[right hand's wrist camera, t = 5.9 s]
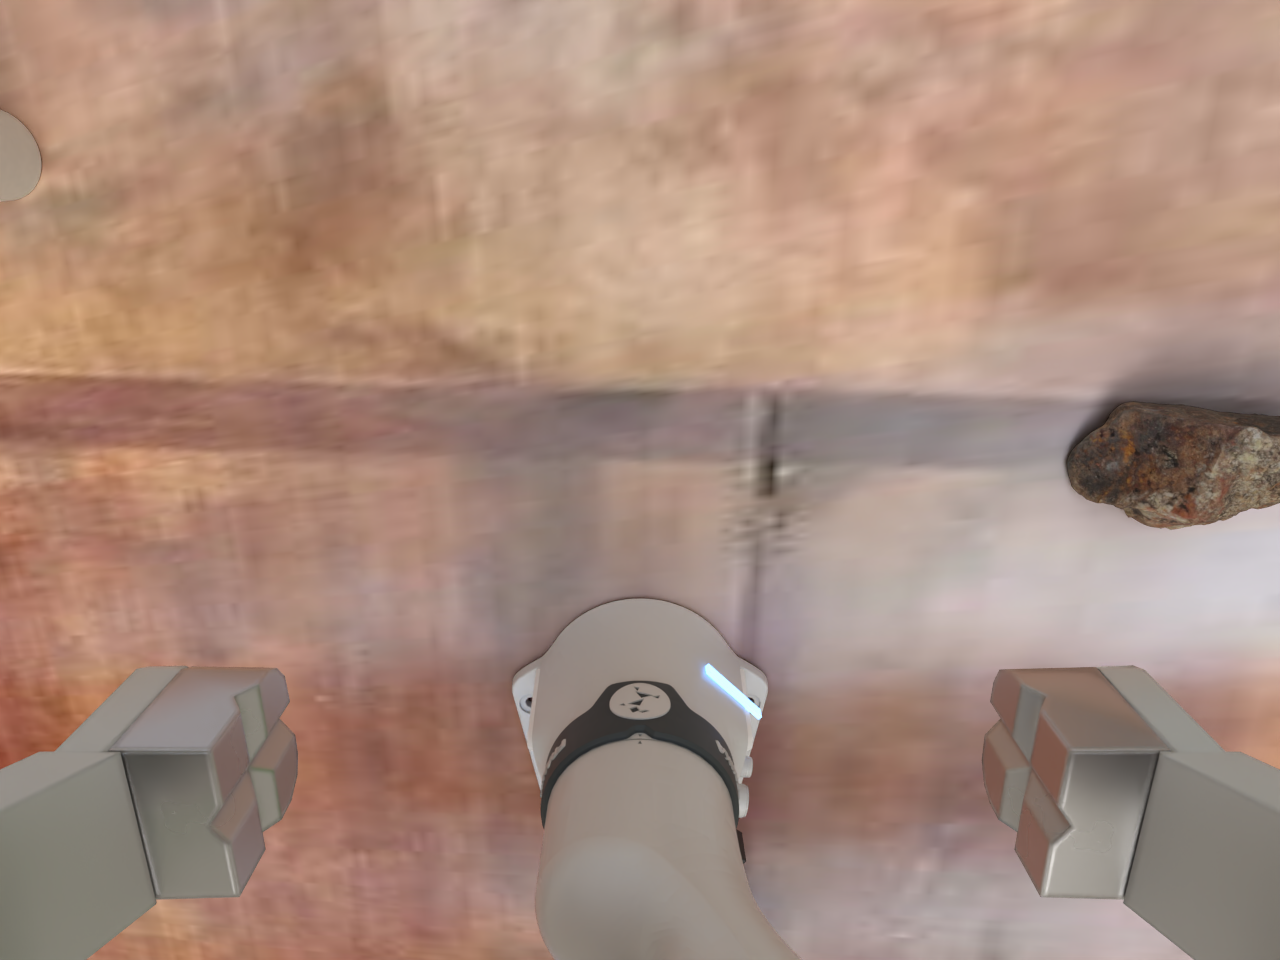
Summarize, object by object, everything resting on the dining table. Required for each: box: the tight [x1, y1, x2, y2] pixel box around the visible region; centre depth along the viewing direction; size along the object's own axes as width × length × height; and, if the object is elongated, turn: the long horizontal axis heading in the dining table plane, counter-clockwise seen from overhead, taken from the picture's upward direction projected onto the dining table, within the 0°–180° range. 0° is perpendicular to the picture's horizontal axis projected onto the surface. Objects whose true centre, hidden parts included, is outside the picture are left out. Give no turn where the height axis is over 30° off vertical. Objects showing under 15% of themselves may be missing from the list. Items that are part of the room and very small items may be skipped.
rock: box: [1067, 401, 1280, 529], centre depth 56 cm, size 14×9×10 cm
